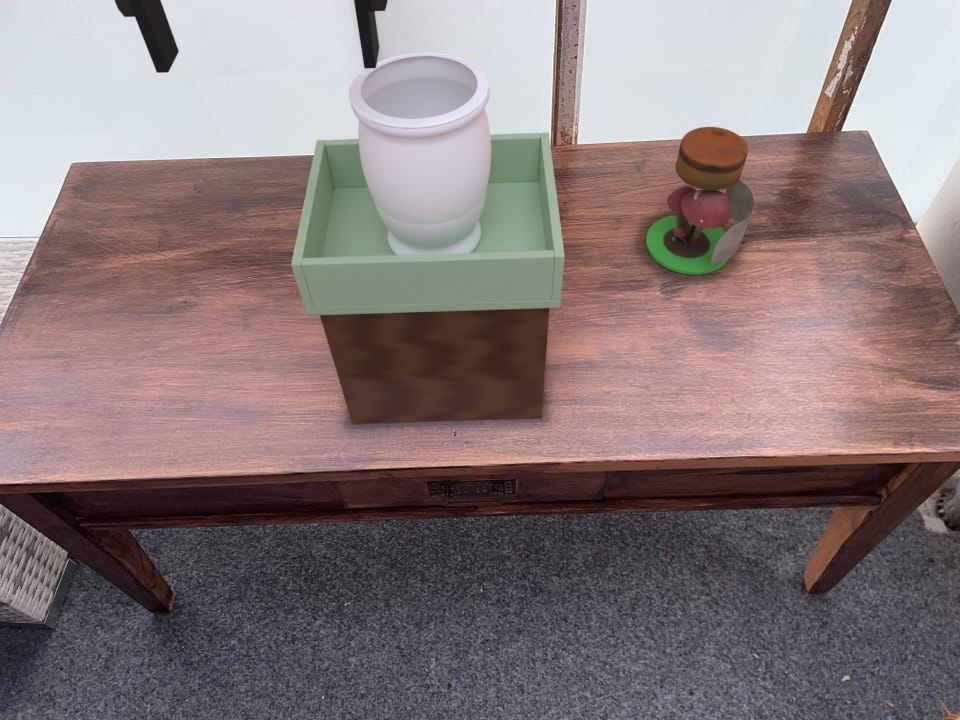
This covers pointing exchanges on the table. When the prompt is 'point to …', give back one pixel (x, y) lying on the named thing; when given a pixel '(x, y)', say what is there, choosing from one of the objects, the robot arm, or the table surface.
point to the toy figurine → (704, 204)
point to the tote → (431, 277)
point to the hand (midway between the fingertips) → (270, 60)
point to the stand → (440, 364)
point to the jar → (425, 149)
